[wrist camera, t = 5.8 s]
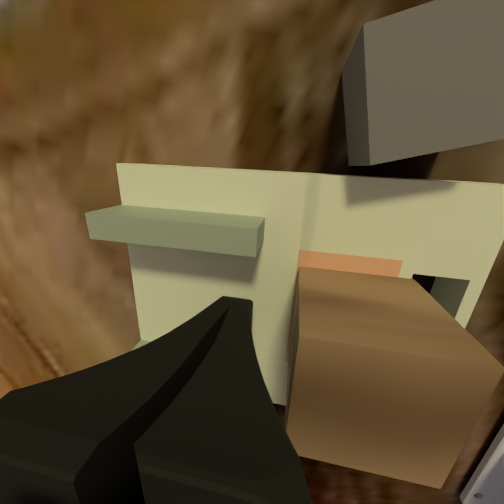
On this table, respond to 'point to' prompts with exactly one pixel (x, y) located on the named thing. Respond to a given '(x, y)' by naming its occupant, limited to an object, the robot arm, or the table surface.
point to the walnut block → (382, 376)
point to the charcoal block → (425, 81)
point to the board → (291, 242)
